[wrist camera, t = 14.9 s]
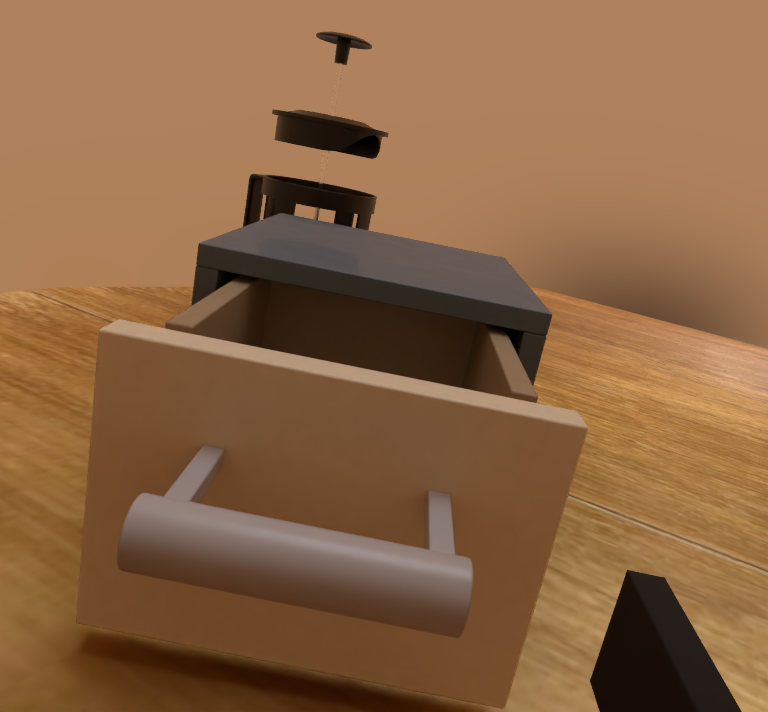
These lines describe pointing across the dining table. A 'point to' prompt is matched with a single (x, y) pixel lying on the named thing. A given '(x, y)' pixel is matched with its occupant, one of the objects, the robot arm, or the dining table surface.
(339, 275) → the cabinet
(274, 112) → the french press
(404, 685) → the drawer
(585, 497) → the dining table surface
